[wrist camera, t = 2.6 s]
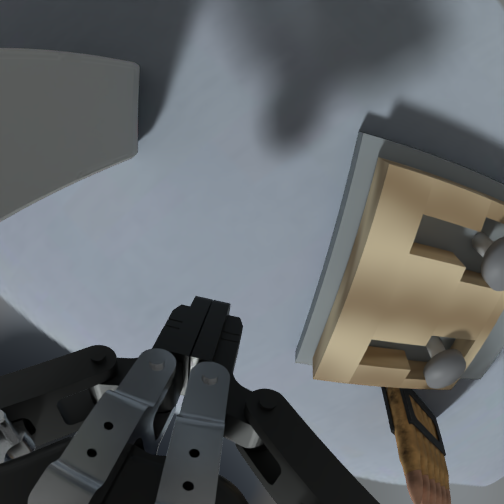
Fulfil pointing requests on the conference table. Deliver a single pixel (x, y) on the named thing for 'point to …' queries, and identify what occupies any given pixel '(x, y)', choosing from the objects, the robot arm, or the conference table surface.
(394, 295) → the beech panel
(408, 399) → the ammunition clip
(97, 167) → the rounded white slab
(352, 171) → the board
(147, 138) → the conference table surface
